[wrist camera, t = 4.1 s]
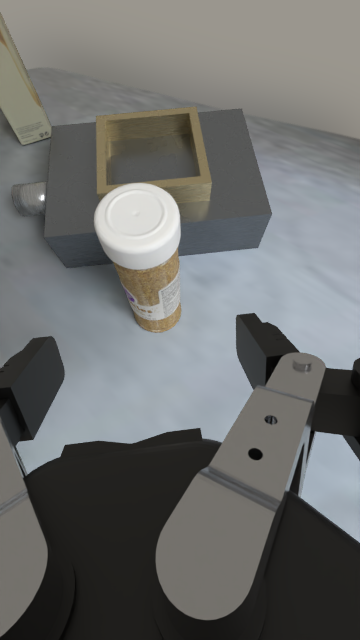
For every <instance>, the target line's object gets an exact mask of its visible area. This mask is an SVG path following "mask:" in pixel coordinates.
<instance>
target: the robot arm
mask: <svg viewBox="0 0 360 640" xmlns="http://www.w3.org/2000/svg"><path fill="white" fill-rule="evenodd" d="M236 349H237V355H238V359H239V361H240V363H241V365H242V367H243V369H244V371H245V373H246V376H247V378H248V380H249V382H250V384H251V386H252V388H253V390H254V391H253V393H252V394H251V396H250V398H249V399H248V401H247V403H246V404H245V406H244V408H243V409H242V411H241V413H240V414H239V416H238V418H237V419H236V421H235V423H234V424H233V426H232V428H231V429H230V431H229V433H228V434H227V436H226V438H225V439H224V441H223V443H221V442H218V441H214V440H209V439H202V435H201V430H200V428H196V429H188V430H180V431H172V432H166V433H163V434H160V435H157V436H154V437H151V438H148V439H145V440H142V441H140V442H137V443H133V444H127V443H116V442H106V441H93V442H85V443H77V444H69V445H65V446H64V449H63V451H62V454H61V457H59V458H56V459H54V460H52V461H49V462H47V463H45V464H43V465H42V466H40V467H38V468H37V469H35V470H33V471H32V472H30V473H29V474H27V471H26V469H25V467H24V464H23V462H22V459H21V457H20V455H19V452H18V450H17V448H16V445H17V443H18V442H19V441H27V440H33V439H34V437H35V435H36V433H37V431H38V429H39V427H40V426H41V424H42V422H43V420H44V418H45V416H46V414H47V412H48V410H49V408H50V406H51V404H52V402H53V400H54V398H55V396H56V394H57V392H58V390H59V388H60V386H61V384H62V382H63V380H64V375H65V372H64V366H63V363H62V360H61V356H60V353H59V350H58V347H57V344H56V341H55V339H54V338H53V337H52V336H48V337H40V338H33V339H32V340H31V341H30V342H29V343H28V344H27V345H26V347H25V348H24V349H23V350H22V351H20V352H19V353H17V354H16V355H14V356H13V357H11V358H10V359H9V360H8V361H7V362H6V363H5V365H4V367H2V368H1V369H0V640H360V543H359V542H358V541H357V540H355V539H354V538H353V537H351V536H350V535H349V534H347V533H346V532H345V531H343V530H342V529H341V528H339V527H338V526H337V525H336V524H334V523H333V522H332V521H330V520H329V519H328V518H326V517H325V516H324V515H322V514H321V513H320V512H318V511H317V510H316V509H315V508H313V507H312V506H311V505H309V504H308V503H307V502H305V501H304V500H303V499H301V493H302V488H303V482H304V478H305V473H306V469H307V466H308V462H309V458H310V454H311V450H312V447H313V443H314V439H315V435H316V432H324V433H331V434H339V435H343V437H344V438H345V440H346V441H347V443H348V444H349V446H350V447H351V449H352V450H353V452H354V453H355V455H356V456H357V458H358V459H359V460H360V358H359V359H357V360H355V362H354V364H353V369H352V370H342V369H330V368H326V366H325V363H324V362H323V361H322V360H321V359H319V358H318V357H316V356H314V355H311V354H307V353H300V352H299V351H298V350H297V349H296V347H295V346H294V345H293V344H292V343H291V342H290V341H289V340H288V339H287V337H286V336H285V335H284V334H282V332H281V331H280V330H279V329H278V327H276V326H274V325H272V324H270V323H268V322H266V323H262V322H261V320H260V319H259V318H258V317H257V316H256V314H255V313H250V314H241V315H237V317H236Z"/></svg>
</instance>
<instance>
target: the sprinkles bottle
mask: <svg viewBox="0 0 360 640" xmlns="http://www.w3.org/2000/svg"><path fill="white" fill-rule="evenodd" d="M94 227H95V231H96V234H97V236H98V239H99V241H100V243H101V245H102V248H103V250H104V251H105V253H106V254H107V256H108V257H109V258H110V259H111V260H112V261H113V263H114V266H115V268H116V270H117V273H118V275H119V278H120V282H121V284H122V286H123V288H124V291H125V293H126V295H127V298H128V300H129V303H130V305H131V307H132V309H133V311H134V315H135V318H136V321H137V322H138V324H139V325H140V326H141V327H142V328H144V329H145V330H147V331H151V332H155V333H156V332H164V331H167V330H169V329H171V328H172V327H174V326H175V325H176V323H177V322H178V320H179V318H180V316H181V305H180V264H179V258H178V245H179V242H180V236H181V227H180V213H179V209H178V206H177V204H176V202H175V200H174V199H173V198H172V196H171V195H170V194H169V193H167V192H166V191H165V190H163V189H162V188H159V187H157V186H155V185H152V184H146V183H131V184H126V185H123V186H120V187H118V188H116V189H114V190H112V191H111V192H109V193H108V194H107V195H106V196H104V198H103V199H102V200H101V201H100V203H99V204H98V206H97V208H96V211H95V214H94Z"/></svg>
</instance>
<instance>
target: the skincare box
mask: <svg viewBox="0 0 360 640" xmlns="http://www.w3.org/2000/svg"><path fill="white" fill-rule="evenodd" d="M0 108H1V110H2V112H3V113H4V115H5V117H6V118H7V120H8V122H9V124H10V125H11V127H12V129H13V131H14V132H15V134H16V136H17V137H18V139H19V141H20V143H21V144H22V145H26V144H29V143H32V142H36V141H39V140H42V139H45V138H48V137H51V129H52V127H51V124H50V122H49V119H48V117H47V115H46V113H45V110H44V108H43V106H42V104H41V101H40V99H39V97H38V95H37V93H36V90H35V88H34V86H33V84H32V82H31V79H30V77H29V75H28V73H27V71H26V68H25V66H24V64H23V62H22V59H21V57H20V55H19V53H18V50H17V48H16V46H15V44H14V42H13V40H12V37H11V35H10V33H9V30H8V28H7V26H6V24H5V21H4V19H3V17H2V15H1V13H0Z"/></svg>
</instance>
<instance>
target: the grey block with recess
mask: <svg viewBox="0 0 360 640" xmlns="http://www.w3.org/2000/svg"><path fill="white" fill-rule="evenodd" d="M131 183H146V184H152V185H155V186H157V187H159V188H162V189H163V190H165V191H166V192H167V193H169V194H170V195H171V196H172V198H173V199H174V200H175V202H176V204H177V206H178V209H179V213H180V227H181V236H180V242H179V245H178V256H184V255H193V254H203V253H212V252H221V251H231V250H240V249H250V248H258V246H259V244H260V242H261V239H262V237H263V234H264V232H265V229H266V227H267V225H268V222H269V220H270V217H271V215H272V212H271V209H270V205H269V202H268V198H267V195H266V191H265V188H264V185H263V181H262V178H261V174H260V171H259V167H258V164H257V160H256V157H255V153H254V150H253V146H252V143H251V139H250V136H249V133H248V129H247V126H246V122H245V119H244V115H243V112H242V109H232V110H221V111H211V112H200V113H198V112H197V107H187V108H177V109H166V110H155V111H145V112H134V113H123V114H112V115H102V116H96V122H94V123H83V124H72V125H62V126H52V129H51V143H50V157H49V171H48V182H38V183H28V184H18V185H13V187H12V198H13V202H14V204H15V207H16V209H17V210H18V212H19V213H20V214H21V215H22V216H32V215H42V214H45V228H44V238H45V240H46V241H47V242H48V244H49V245H50V246H51V248H52V249H53V250H54V252H55V253H56V254H57V256H58V257H59V258H60V260H61V261H62V262H63V264H64V265H65V266H66V268H72V267H81V266H90V265H100V264H109V263H113V261H112V260H111V259H110V258H109V257H108V256H107V254H106V253H105V251H104V250H103V248H102V245H101V243H100V241H99V239H98V236H97V234H96V231H95V227H94V214H95V211H96V208H97V206H98V204H99V203H100V201H101V200H102V199H103V198H104V196H106V195H107V194H108V193H109V192H111V191H112V190H114V189H116V188H118V187H120V186H123V185H126V184H131Z"/></svg>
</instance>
